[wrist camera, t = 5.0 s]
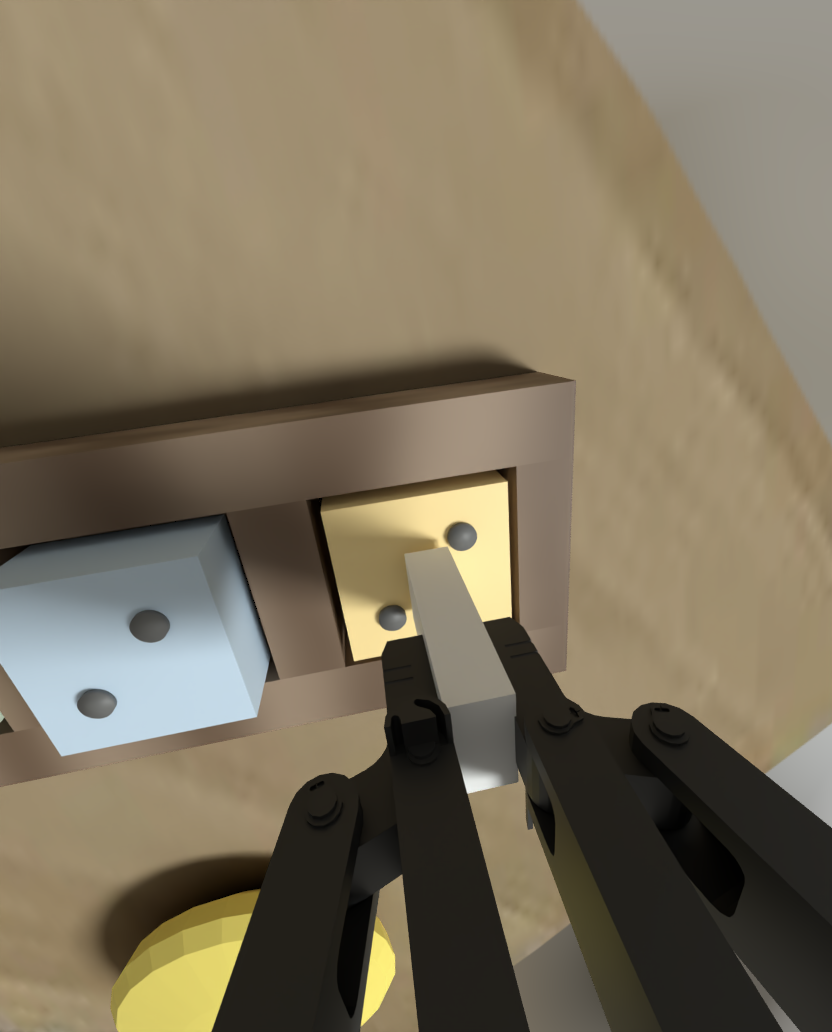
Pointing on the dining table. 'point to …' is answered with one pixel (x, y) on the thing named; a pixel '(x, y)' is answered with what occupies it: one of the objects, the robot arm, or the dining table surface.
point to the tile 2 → (132, 634)
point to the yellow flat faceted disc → (207, 969)
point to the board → (299, 527)
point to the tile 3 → (416, 550)
